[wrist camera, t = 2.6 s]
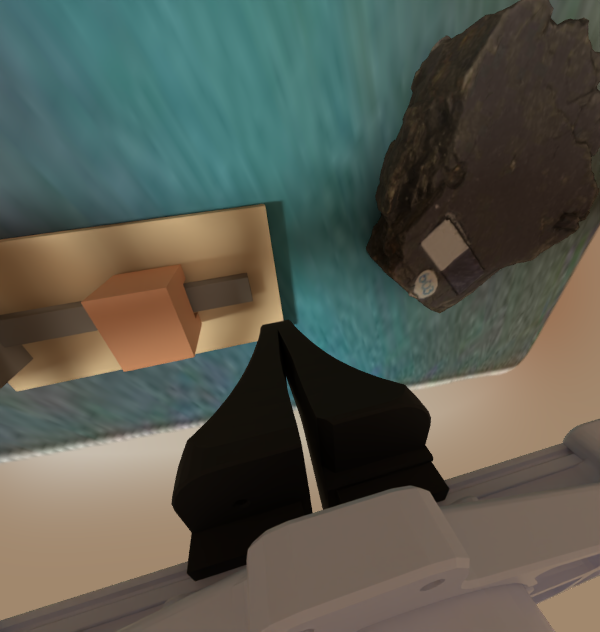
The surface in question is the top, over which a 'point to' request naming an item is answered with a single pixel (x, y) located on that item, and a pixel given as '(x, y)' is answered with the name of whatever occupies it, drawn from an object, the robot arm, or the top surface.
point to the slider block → (145, 317)
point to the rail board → (123, 257)
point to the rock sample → (490, 154)
